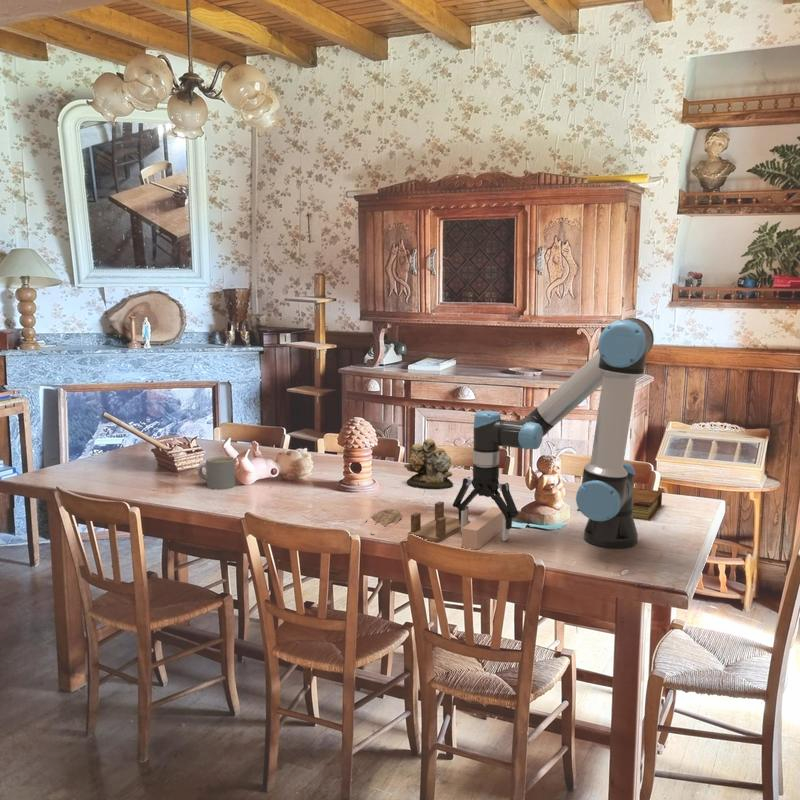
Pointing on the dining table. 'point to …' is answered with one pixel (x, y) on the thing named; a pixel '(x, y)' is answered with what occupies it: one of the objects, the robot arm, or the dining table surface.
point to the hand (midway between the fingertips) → (484, 535)
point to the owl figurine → (429, 466)
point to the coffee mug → (219, 472)
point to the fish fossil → (387, 516)
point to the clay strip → (482, 528)
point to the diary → (645, 503)
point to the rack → (435, 525)
